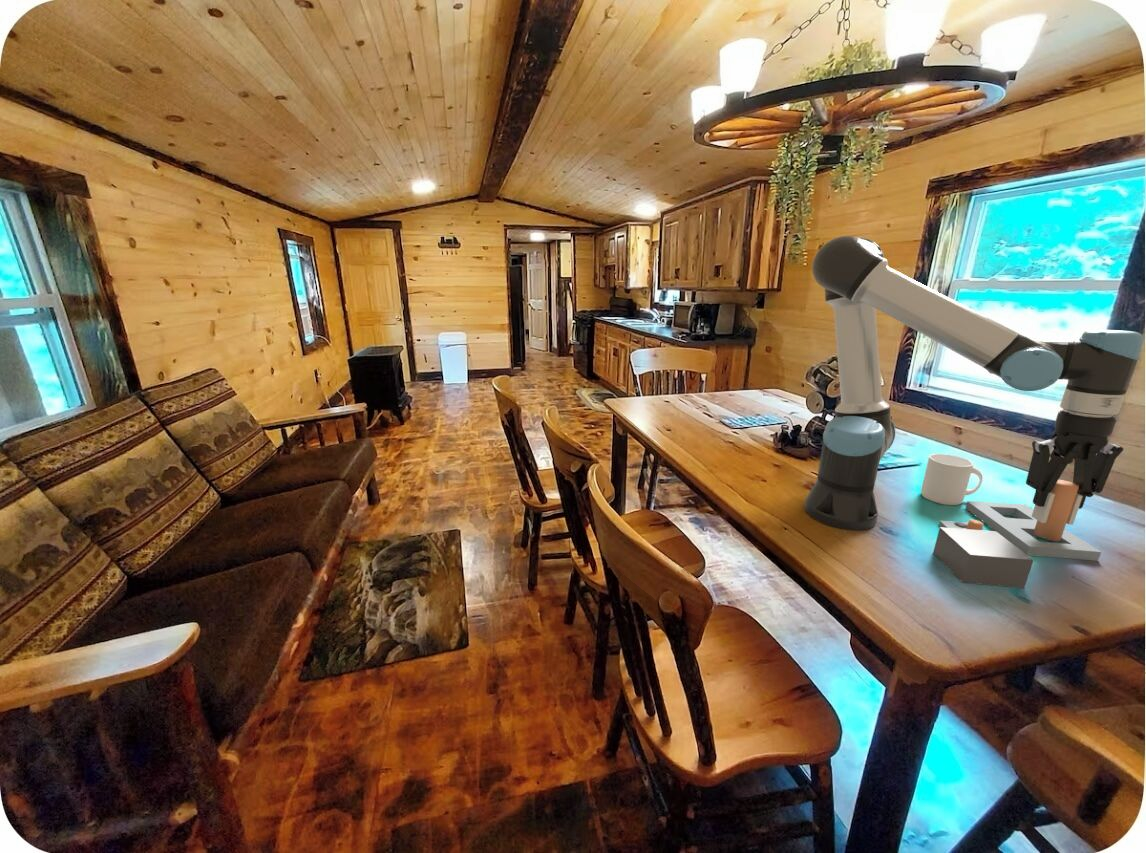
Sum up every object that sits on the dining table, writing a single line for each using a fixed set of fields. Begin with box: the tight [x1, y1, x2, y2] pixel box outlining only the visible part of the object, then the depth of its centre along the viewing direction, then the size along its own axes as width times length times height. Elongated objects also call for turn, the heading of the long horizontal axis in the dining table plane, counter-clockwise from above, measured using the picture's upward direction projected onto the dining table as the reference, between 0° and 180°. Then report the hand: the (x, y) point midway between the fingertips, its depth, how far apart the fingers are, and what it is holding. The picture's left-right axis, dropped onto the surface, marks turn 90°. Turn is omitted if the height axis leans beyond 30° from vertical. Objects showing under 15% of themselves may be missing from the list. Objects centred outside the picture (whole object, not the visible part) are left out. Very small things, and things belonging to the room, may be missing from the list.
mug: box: [920, 453, 983, 506], centre depth 112 cm, size 9×12×11 cm
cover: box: [933, 526, 1035, 589], centre depth 85 cm, size 10×10×6 cm
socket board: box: [965, 500, 1102, 562], centre depth 98 cm, size 12×20×2 cm, turn 168°
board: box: [938, 519, 984, 530], centre depth 97 cm, size 7×7×4 cm
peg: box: [1034, 479, 1079, 541], centre depth 91 cm, size 4×4×12 cm
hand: (1051, 520), depth 92 cm, fingers closed on peg, 4 cm apart
